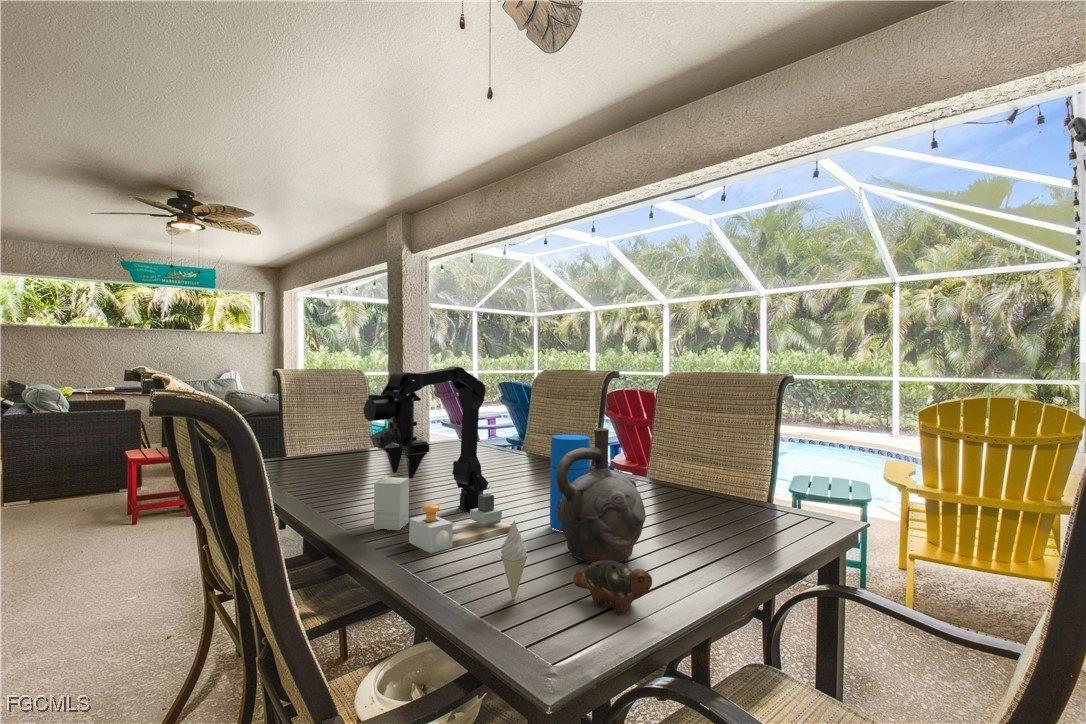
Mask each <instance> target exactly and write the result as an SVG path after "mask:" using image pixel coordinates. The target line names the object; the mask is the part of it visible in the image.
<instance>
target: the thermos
mask: <svg viewBox="0 0 1086 724" xmlns="http://www.w3.org/2000/svg"><path fill="white" fill-rule="evenodd" d="M550 439H551V441H550V475H549V476H550V478H549V479H550V480H549V481H550V482H549V487H550V489H549V491H550V493H549V495H550V496H549V519H550V520H549V526H551V527H552V528H554V529H556V530H559V531H563V529H562V525H561V519H560V516H559V511H558V510H559V504H560V501H561V500H562V496H563V493H562V491H561V490H560V488H559V486H558V483H557V469H558V465H559V463H560V461H561V460H562V458H563V457H564V456H565V455H566V454H567V453H569V452H571V451H573V450H576V449H580V448H591V439H590V437H589V435H583V434H581V435H580V434H555V435H552V436H551V438H550ZM588 473H591V460H588V459H583V460H577V461H575V462H574V463H573V464H572V465H571V467H570V468H569V470H568V480H569V482H570V483H573V482H574V481H575V480H576V479H577V478H579V477H581V476H583V475H585V474H588ZM551 527H550V528H551Z"/></svg>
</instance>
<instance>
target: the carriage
mask: <svg viewBox="0 0 1086 724" xmlns="http://www.w3.org/2000/svg"><path fill="white" fill-rule="evenodd" d="M502 513H503V510H501V509H498V508H496V507H495V495H494V494H490V493H489V492H488V493H483V494H481V495H478V508H476V509H472V510H470V512H469V520H471V521H476V522H479V523H482V524H487V523H491V522H495V521H499V520H501V521H502V520H503V519H502V518H503V517H502V516H503V515H502Z"/></svg>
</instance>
